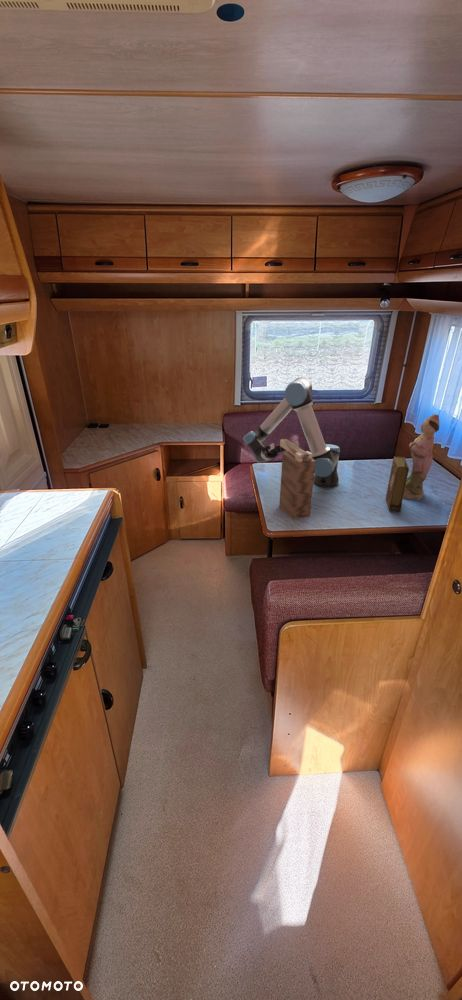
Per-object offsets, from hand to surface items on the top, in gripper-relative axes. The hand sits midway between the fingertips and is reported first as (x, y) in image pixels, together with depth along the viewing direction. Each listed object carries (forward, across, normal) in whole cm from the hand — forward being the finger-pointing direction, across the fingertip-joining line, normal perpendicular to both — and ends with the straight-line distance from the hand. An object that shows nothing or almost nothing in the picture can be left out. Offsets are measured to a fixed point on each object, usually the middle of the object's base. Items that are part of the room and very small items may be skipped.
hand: (285, 444), depth 220 cm
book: (+5, -54, -40) cm, 67 cm away
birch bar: (+6, -1, -6) cm, 8 cm away
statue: (-3, -73, -36) cm, 81 cm away
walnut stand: (-5, -1, -34) cm, 35 cm away
